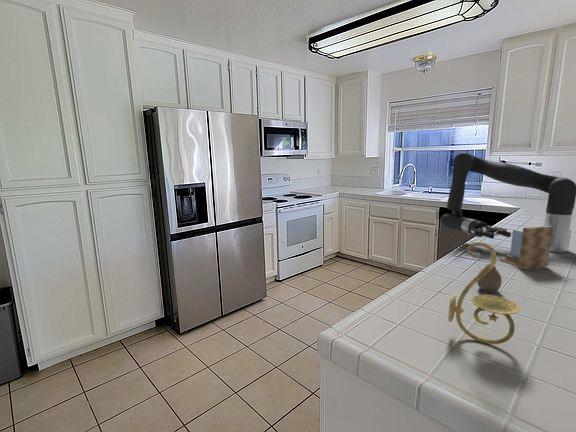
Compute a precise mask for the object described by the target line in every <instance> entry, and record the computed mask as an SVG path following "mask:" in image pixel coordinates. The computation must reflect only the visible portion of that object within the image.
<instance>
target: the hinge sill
mask: <svg viewBox="0 0 576 432" xmlns="http://www.w3.org/2000/svg"><path fill="white" fill-rule="evenodd" d="M522 230H523V235H522V243H521V251H520V259H518V258H515V257H513V256H510V254H505V256H504V258H503V257H502V258H499V261H501V262H504V263H507V264H509V265H511V266H515V267H517V268H519V269H522V270H535V269H545V267H549V259H550V252H551V251H550V246H551V239H552V232H553V227H552V226H544V225H543V226H530V227H523V228H522Z"/></svg>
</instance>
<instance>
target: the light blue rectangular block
mask: <svg viewBox="0 0 576 432" xmlns="http://www.w3.org/2000/svg"><path fill="white" fill-rule="evenodd" d="M522 235H523V229H519V228H518V229H512V233H511V243H510V253H509V255H510V256H513V257H515V258H518V259H520V251H521V243H522Z"/></svg>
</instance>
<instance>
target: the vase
mask: <svg viewBox="0 0 576 432" xmlns="http://www.w3.org/2000/svg"><path fill="white" fill-rule="evenodd" d="M489 265H490V264H486V265H485V267H484V268H482V269H481V270H480V271H479V273H478V275H479V274H480V273H481V272H482V271H484V270H485V269H486V268H487V267H488V266H489ZM478 275H477V276H478ZM502 279H503V278H502V276H501V273H500V272H499V271H498V270H497V268H496V265H495V266H494V267H493V268H492V269H491V270H490V271H489V272H488V273H487V274H486V275H485V276H483V277H482V278H481V279H480V280H479V281H477V282H476V283H477V286H478V288H479V289H480V290H481V291H482V292H485V293H488V294H489V293H490V294H493V293H496V292H498V291H499V290H500V289H501V287H502V283H503V280H502Z"/></svg>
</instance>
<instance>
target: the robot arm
mask: <svg viewBox="0 0 576 432" xmlns="http://www.w3.org/2000/svg"><path fill="white" fill-rule="evenodd" d="M452 167H453V169H452V178H451V186H450V190H449V194H448V198H447V203H446V204H447V205H446V208H447V209H448V210H450V211H452V212H451V213H445V214H443V215H442V216H441V217H440V219H439V220H440V224H441V226H442V227H445V228H447V229H454V230H457V231H460V232H464V233H466V234H468V235H470V236H474V237H477V238H481V237H483V238H489V239H494V238H495V237H497V236H502V237H506V238H512V232H511V231H507V229H506V228H502V227H498V226H495V227H492V226H489V225H488V224H487V223H486V222H485V221H481V220H477V219H474V218H468V217H463V210H462V207H463V204H464V203H463V202H464V197H465V189H466V181H467V177H468V173H469V172H470V173H471V172H472V173H474V174H475V173H476V174H480V175H483V176H485V177H487V178H490V179H492V180H495V181H496V182H497V181H498V182H500V183H504V184H508V185H511V186H515V187H516V186H517V187H523V188H530V189H535V190H538V191H541V192H544V193H546V194H548V197H547V202H546V203H547V205H546V208H545V209H546V210H545V217H544V224H543V226H552V227H553V232H552V239H551V246H550V252H556V253H566V252H567V251H569V248H570V243H571V242H570V241H571V234H572V230H571V223H572V218H573V211H574V210H575V209H574V208H575V204H576V203H575V202H576V183H575V181H573V180H572V179H571V178H568V177H560V176H554V175H550V174H549V175H548V174H544V173H540V172H537V171H534V170H532V169H529V168H526V167H523V166H519V165H517V164H511V163H508V162H502V161H494V160H489V159H484V158H481V157H478V156H475V155H473V154H471V153H468V152H459V153H457V154H456V155H455V156H454V158H453V161H452Z"/></svg>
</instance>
